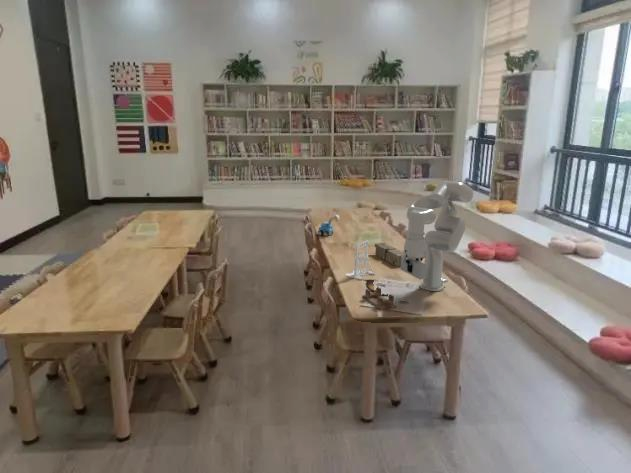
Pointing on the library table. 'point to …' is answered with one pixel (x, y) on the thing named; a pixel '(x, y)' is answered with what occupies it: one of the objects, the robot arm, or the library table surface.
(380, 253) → the grey-brown long block
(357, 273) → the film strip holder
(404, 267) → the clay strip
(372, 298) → the rack
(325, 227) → the toy excavator
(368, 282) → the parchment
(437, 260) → the robot arm
